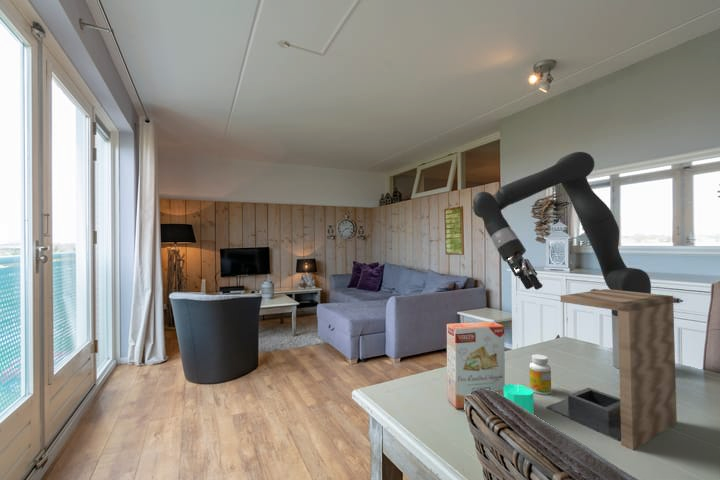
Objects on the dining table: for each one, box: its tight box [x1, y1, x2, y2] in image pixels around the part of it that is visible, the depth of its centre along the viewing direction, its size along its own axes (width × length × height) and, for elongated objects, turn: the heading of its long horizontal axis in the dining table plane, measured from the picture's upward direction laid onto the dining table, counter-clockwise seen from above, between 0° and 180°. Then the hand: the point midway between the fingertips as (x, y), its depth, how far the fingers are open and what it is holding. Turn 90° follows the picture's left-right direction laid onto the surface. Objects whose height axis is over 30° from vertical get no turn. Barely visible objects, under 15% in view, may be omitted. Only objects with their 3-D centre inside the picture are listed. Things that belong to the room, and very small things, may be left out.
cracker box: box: [446, 321, 506, 410], centre depth 88 cm, size 14×6×21 cm, turn 99°
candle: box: [504, 383, 535, 415], centre depth 72 cm, size 6×6×12 cm
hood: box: [559, 288, 678, 451], centre depth 78 cm, size 20×14×30 cm
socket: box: [545, 387, 621, 442], centre depth 81 cm, size 16×16×4 cm
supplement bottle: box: [529, 353, 552, 396], centre depth 94 cm, size 5×5×10 cm
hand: (534, 288), depth 102 cm, fingers open, 8 cm apart
